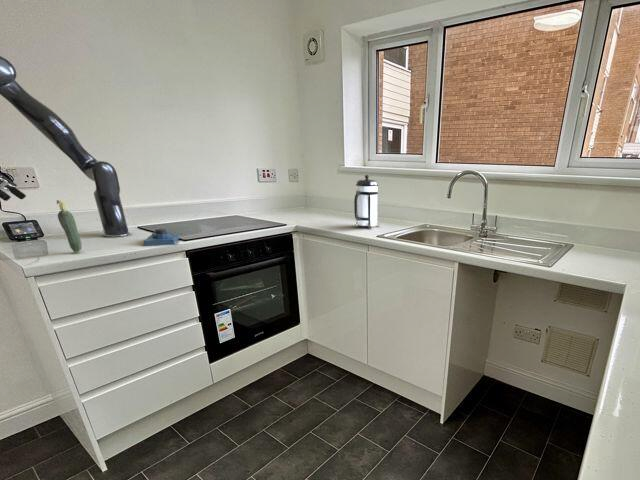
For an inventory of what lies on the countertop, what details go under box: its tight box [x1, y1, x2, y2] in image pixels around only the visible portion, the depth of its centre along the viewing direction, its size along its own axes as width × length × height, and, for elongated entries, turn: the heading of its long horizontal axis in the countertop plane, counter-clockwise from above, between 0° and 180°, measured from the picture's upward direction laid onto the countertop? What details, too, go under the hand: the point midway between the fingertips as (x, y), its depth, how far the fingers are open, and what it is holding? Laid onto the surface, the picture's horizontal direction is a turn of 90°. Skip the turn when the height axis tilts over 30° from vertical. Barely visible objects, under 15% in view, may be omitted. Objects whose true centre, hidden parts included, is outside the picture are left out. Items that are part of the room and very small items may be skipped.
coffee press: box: [353, 174, 380, 230], centre depth 205 cm, size 17×16×30 cm
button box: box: [143, 231, 180, 247], centre depth 157 cm, size 14×11×4 cm
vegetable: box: [56, 199, 83, 254], centre depth 132 cm, size 4×4×20 cm
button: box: [154, 228, 167, 234], centre depth 156 cm, size 4×4×2 cm
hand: (16, 198), depth 124 cm, fingers open, 8 cm apart
